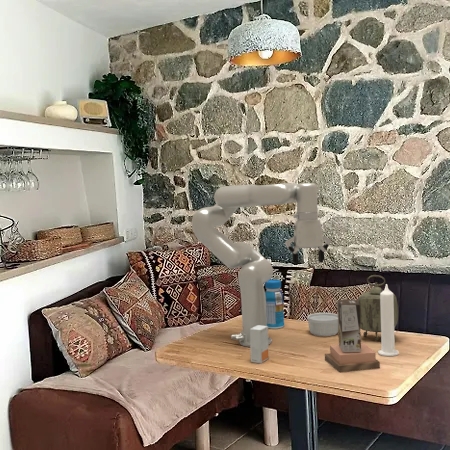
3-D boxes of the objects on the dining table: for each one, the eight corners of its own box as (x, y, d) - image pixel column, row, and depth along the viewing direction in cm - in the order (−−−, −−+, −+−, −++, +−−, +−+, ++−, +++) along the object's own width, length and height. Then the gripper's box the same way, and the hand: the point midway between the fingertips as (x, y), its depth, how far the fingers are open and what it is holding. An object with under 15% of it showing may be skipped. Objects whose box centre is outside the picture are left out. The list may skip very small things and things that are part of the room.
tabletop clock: (398, 337, 231) (397, 273, 229) (394, 344, 223) (392, 278, 221) (361, 334, 238) (360, 272, 236) (355, 340, 230) (353, 276, 228)
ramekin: (341, 329, 248) (340, 312, 247) (340, 337, 235) (339, 320, 235) (309, 328, 251) (308, 312, 250) (306, 337, 238) (305, 320, 238)
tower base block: (339, 375, 194) (339, 366, 194) (324, 362, 208) (324, 353, 208) (379, 370, 197) (379, 361, 197) (362, 358, 211) (362, 349, 210)
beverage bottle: (264, 329, 253) (262, 282, 251) (266, 324, 261) (264, 279, 260) (284, 329, 252) (282, 282, 250) (285, 324, 260) (283, 278, 258)
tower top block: (340, 364, 196) (340, 355, 196) (330, 353, 208) (330, 345, 208) (375, 361, 197) (375, 352, 197) (363, 351, 209) (363, 342, 209)
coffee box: (361, 352, 198) (360, 304, 196) (342, 353, 198) (340, 305, 197) (357, 344, 207) (355, 298, 205) (338, 345, 207) (336, 299, 206)
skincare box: (261, 363, 207) (259, 330, 206) (250, 362, 210) (249, 328, 209) (269, 358, 212) (268, 325, 211) (258, 357, 215) (257, 324, 214)
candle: (399, 351, 214) (397, 282, 212) (398, 357, 207) (396, 286, 205) (378, 350, 216) (377, 282, 214) (377, 355, 210) (375, 285, 208)
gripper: (287, 218, 213) (289, 266, 215) (333, 216, 217) (334, 262, 218) (281, 217, 221) (283, 263, 222) (326, 215, 224) (327, 260, 225)
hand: (308, 263), depth 220 cm, fingers open, 9 cm apart
